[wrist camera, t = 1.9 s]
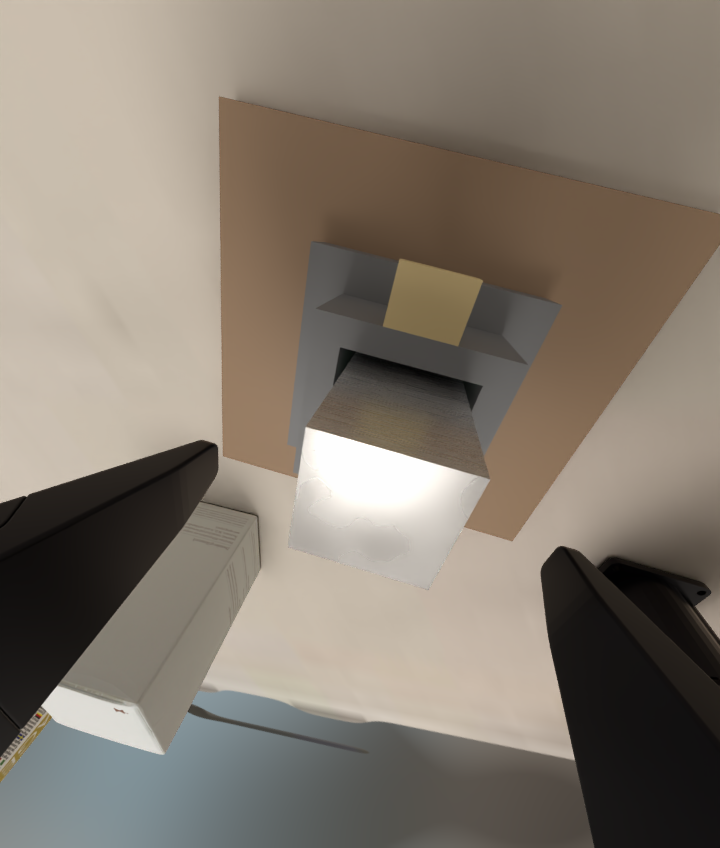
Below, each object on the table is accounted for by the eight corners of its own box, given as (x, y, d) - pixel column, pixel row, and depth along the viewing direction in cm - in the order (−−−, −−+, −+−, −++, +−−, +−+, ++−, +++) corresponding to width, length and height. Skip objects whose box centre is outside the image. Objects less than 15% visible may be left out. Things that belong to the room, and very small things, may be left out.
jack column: (455, 347, 15) (493, 478, 7) (427, 420, 17) (429, 591, 9) (371, 325, 15) (303, 424, 7) (355, 399, 17) (285, 547, 9)
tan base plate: (712, 220, 12) (978, 195, 6) (508, 527, 22) (540, 634, 16) (234, 108, 13) (80, -6, 7) (232, 446, 23) (161, 518, 17)
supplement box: (175, 493, 26) (-3, 667, 15) (260, 514, 26) (137, 711, 15) (187, 551, 30) (51, 725, 19) (261, 571, 29) (164, 762, 18)
